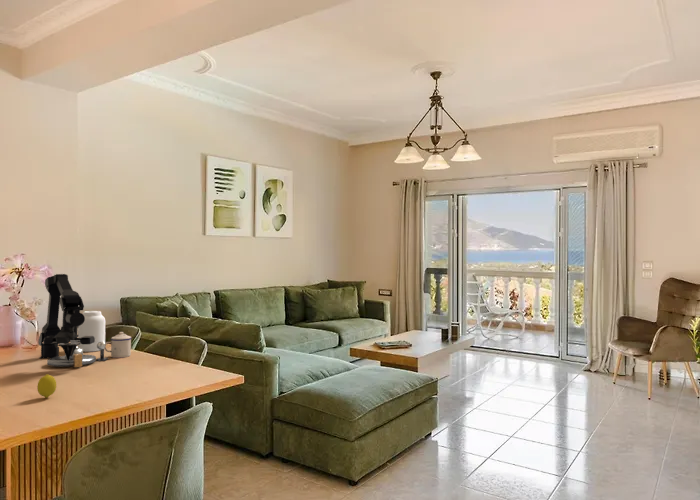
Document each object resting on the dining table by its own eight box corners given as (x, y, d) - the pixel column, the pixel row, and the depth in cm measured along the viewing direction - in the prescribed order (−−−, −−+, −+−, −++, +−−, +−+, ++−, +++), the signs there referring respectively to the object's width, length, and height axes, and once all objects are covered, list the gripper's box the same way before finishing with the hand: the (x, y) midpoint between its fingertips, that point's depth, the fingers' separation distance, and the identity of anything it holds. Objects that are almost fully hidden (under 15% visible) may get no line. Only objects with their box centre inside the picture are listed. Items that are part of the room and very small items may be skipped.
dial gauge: (95, 361, 235) (96, 341, 235) (99, 359, 239) (99, 340, 239) (105, 361, 235) (105, 341, 235) (108, 359, 239) (108, 340, 239)
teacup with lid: (130, 353, 253) (130, 330, 253) (131, 357, 245) (132, 332, 245) (103, 355, 248) (104, 331, 248) (104, 359, 240) (104, 334, 240)
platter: (53, 369, 212) (53, 357, 212) (43, 361, 229) (43, 350, 229) (102, 364, 225) (102, 352, 225) (89, 356, 241) (90, 345, 241)
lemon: (42, 395, 176) (42, 372, 176) (59, 395, 176) (59, 372, 176) (33, 400, 170) (34, 376, 170) (51, 400, 171) (51, 376, 171)
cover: (66, 360, 223) (66, 348, 224) (63, 358, 229) (63, 346, 229) (84, 358, 228) (84, 347, 228) (81, 356, 233) (81, 344, 233)
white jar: (110, 348, 268) (110, 310, 268) (93, 352, 256) (93, 312, 256) (89, 347, 271) (90, 309, 271) (72, 351, 258) (72, 312, 259)
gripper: (37, 325, 210) (36, 364, 209) (85, 326, 212) (84, 364, 211) (50, 322, 221) (49, 358, 220) (95, 322, 223) (94, 358, 222)
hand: (68, 360), depth 218 cm, fingers closed
